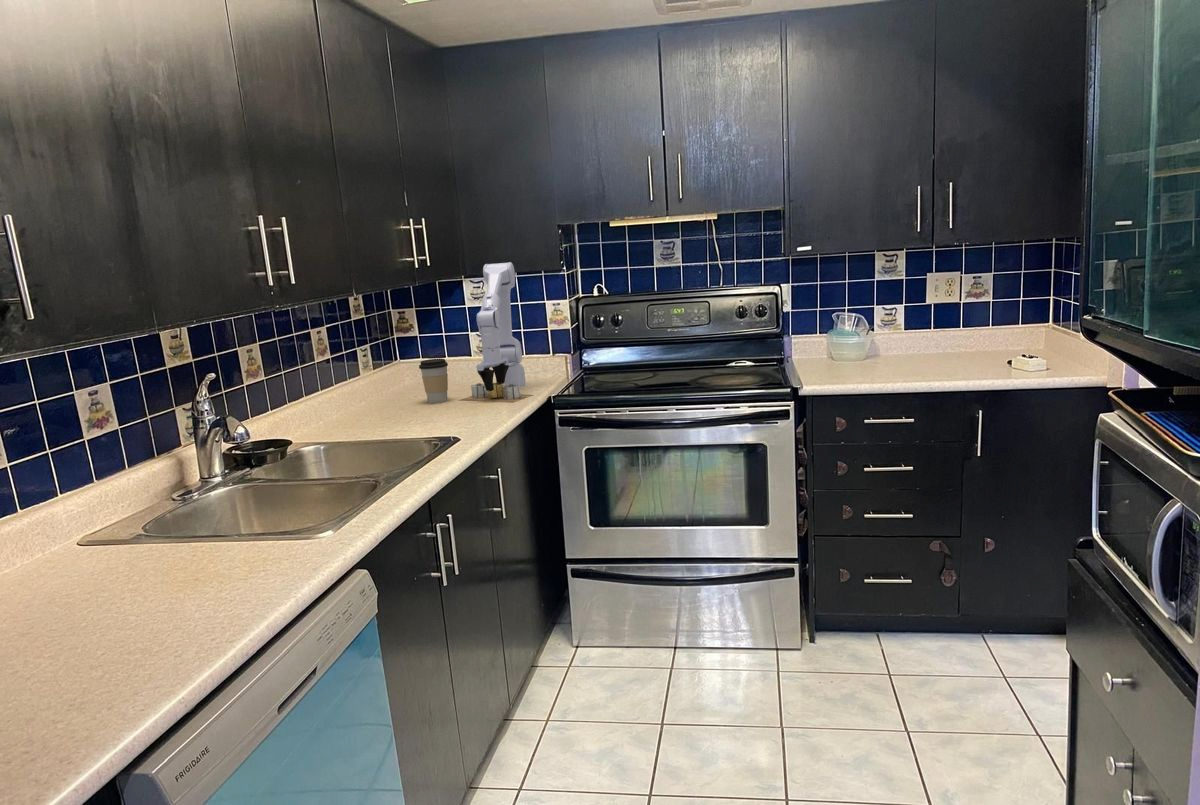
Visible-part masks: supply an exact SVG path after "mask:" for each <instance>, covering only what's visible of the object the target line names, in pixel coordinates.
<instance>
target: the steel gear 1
mask: <svg viewBox="0 0 1200 805" xmlns="http://www.w3.org/2000/svg"><path fill="white" fill-rule="evenodd" d="M477 384H478V383H476V384H472V385H471V386H470V388H471V389H470V390H471V396H472V398H473V399H478V398H479V399H480V398H486V397H489V396H488V391H487V390H486V387H485V385H484V383H481V386H477Z"/></svg>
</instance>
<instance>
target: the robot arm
mask: <svg viewBox="0 0 1200 805" xmlns="http://www.w3.org/2000/svg"><path fill="white" fill-rule="evenodd" d="M515 272H516V271H515V266H514V264H513V263H512V262H511V261H509V262H501V263H500V262H499V263H485V264H484V265H483V268H482V274H483V279H484V281H485V283H486V284H487V289H486V290H487V293H486V294H484V295H483V297H482V301H481V307H480V310H479V312H477V314H476V324H477V328H478V333H479V335H480V340H481V341H480V342H481V349H482V358H483V359H482V360H481V361H480V363H478V364H476V371H477V374H478V375H479V377H480V378H481V380H482V382H483V384H484V385H485V387H486V390H487V391H493V383H494V377H495V383H496V382H503V383H504V385H505V386H506V385H510V384H513V385H514V384H517V385H520V387H527V385H526V373H525V371H526V370H525V368H524V366H523V365H522V364H521V362H522V361H523V350H522V344H521V342H520V341H519V340H518V338H515V337H514V336H513V328H512V327H513V325H512V308H511V307H512V306H511V289H513V288H515V287H516V285H515V284H516V275H515V274H516V273H515ZM491 368H492V369H491Z"/></svg>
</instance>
